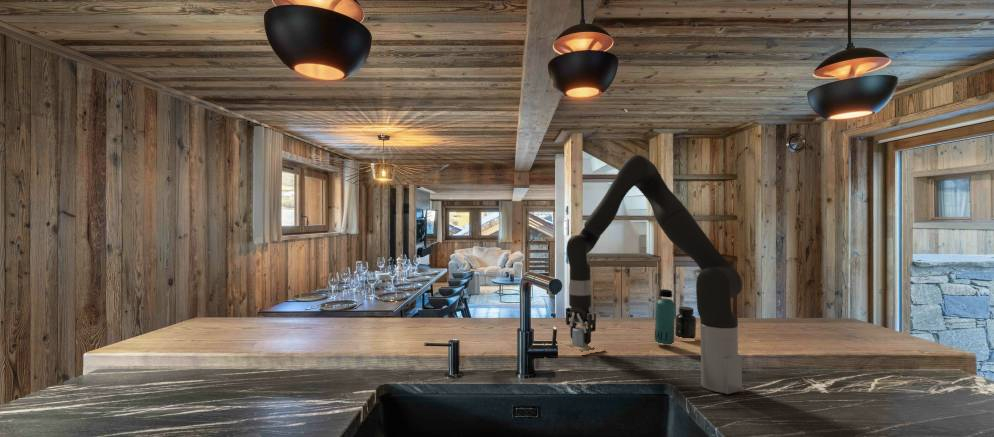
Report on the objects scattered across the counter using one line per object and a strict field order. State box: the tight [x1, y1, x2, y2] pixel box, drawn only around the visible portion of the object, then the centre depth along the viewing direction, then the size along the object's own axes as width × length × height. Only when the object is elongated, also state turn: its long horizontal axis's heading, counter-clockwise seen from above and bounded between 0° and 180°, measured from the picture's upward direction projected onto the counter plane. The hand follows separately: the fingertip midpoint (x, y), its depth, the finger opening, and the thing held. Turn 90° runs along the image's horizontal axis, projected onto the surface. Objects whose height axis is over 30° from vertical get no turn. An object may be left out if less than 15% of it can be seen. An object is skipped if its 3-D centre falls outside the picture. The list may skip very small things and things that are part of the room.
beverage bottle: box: [654, 288, 676, 345], centre depth 154 cm, size 6×7×20 cm
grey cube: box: [571, 326, 588, 347], centre depth 152 cm, size 5×5×5 cm
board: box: [559, 340, 595, 352], centre depth 152 cm, size 12×10×5 cm
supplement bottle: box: [674, 306, 697, 339], centre depth 162 cm, size 7×7×12 cm
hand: (580, 340), depth 153 cm, fingers open, 7 cm apart
